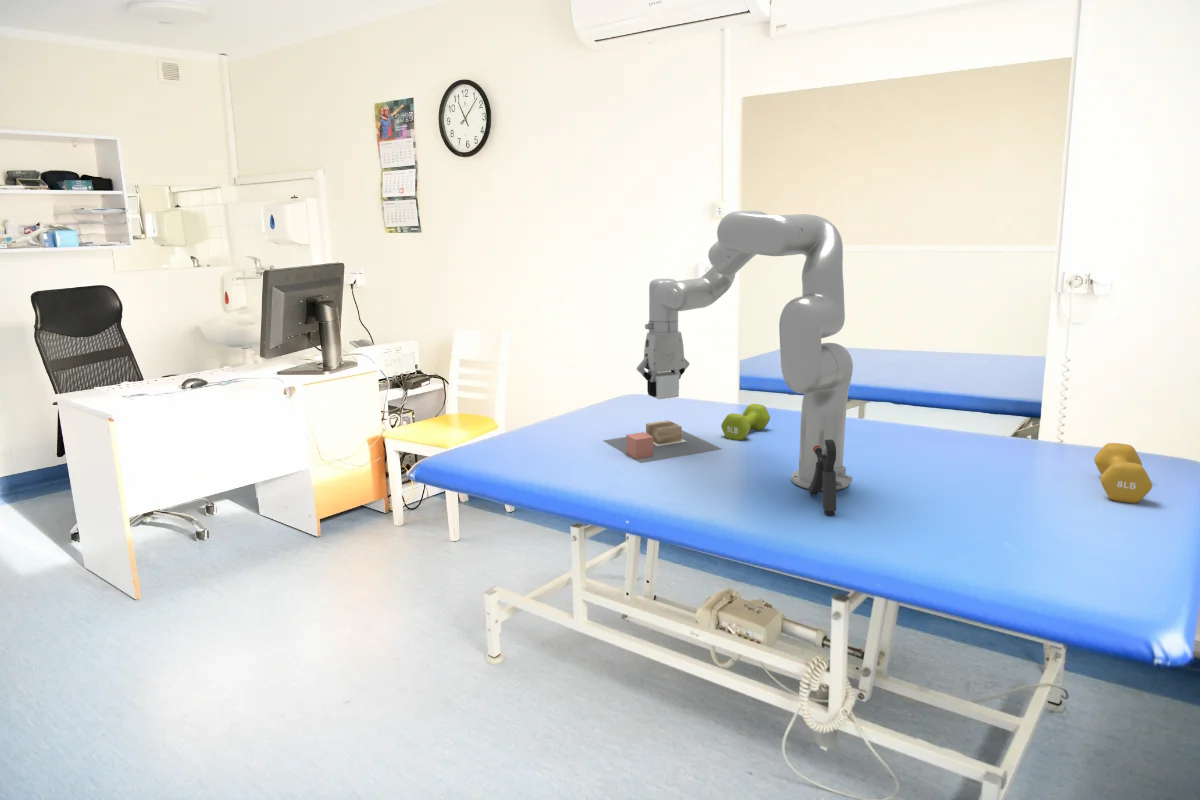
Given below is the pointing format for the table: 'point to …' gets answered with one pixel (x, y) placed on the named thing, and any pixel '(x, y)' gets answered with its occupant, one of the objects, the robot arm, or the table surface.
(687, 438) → the grey mat
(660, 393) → the grey cube
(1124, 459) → the dumbbell
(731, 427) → the dumbbell
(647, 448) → the red cube
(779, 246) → the robot arm
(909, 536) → the table surface
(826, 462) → the hand grip strengthener
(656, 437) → the oak base
